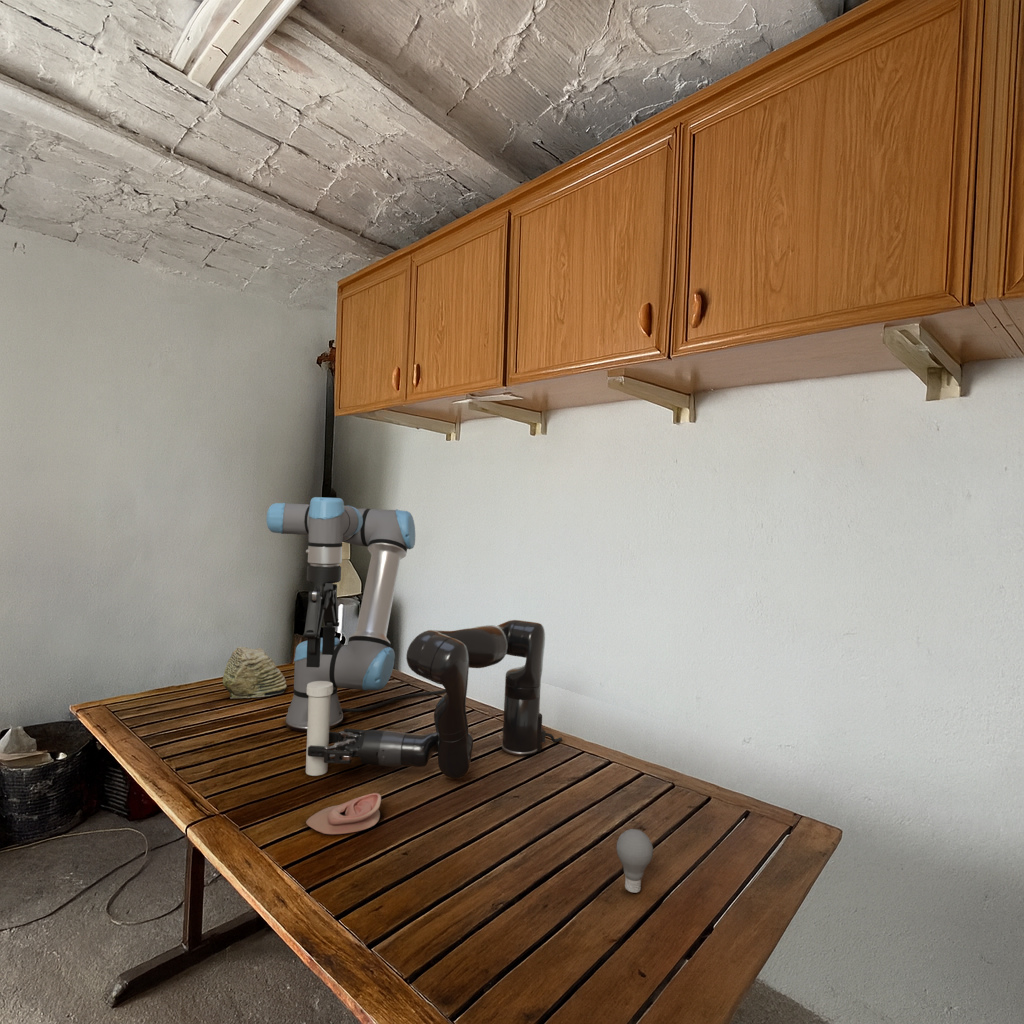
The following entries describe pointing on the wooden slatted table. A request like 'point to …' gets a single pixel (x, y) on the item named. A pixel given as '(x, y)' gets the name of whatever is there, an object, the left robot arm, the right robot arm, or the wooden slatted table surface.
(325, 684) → the lid
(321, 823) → the anatomical model
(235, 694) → the fossil
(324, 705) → the jar
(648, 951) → the wooden slatted table surface
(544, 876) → the wooden slatted table surface
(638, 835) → the light bulb
